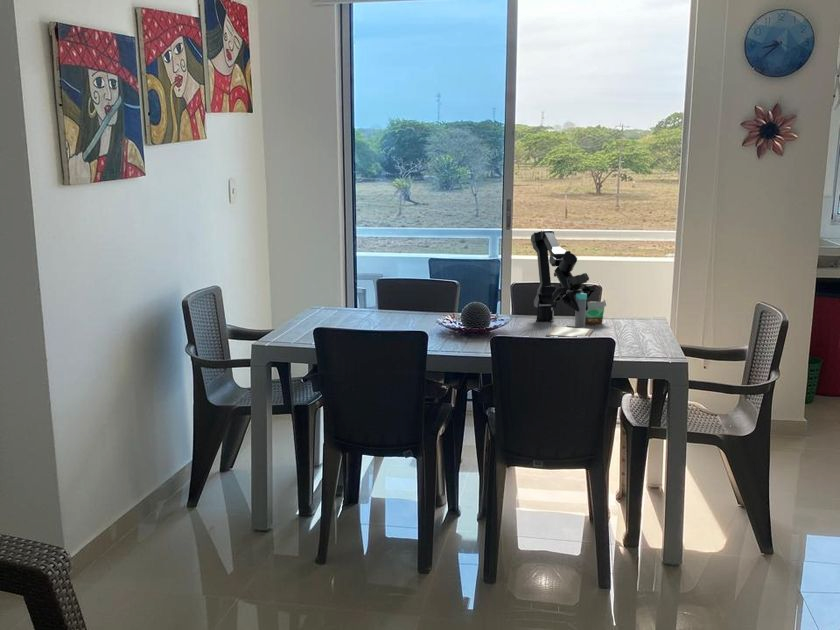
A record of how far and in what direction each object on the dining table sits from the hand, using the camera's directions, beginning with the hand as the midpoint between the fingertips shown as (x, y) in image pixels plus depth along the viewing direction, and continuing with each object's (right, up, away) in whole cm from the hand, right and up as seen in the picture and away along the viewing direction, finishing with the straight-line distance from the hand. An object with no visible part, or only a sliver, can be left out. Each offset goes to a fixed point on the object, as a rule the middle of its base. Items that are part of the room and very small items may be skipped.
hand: (582, 310), depth 320 cm
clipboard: (-3, -9, +9) cm, 13 cm away
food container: (+10, -6, +27) cm, 30 cm away
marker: (-1, -6, +3) cm, 7 cm away
